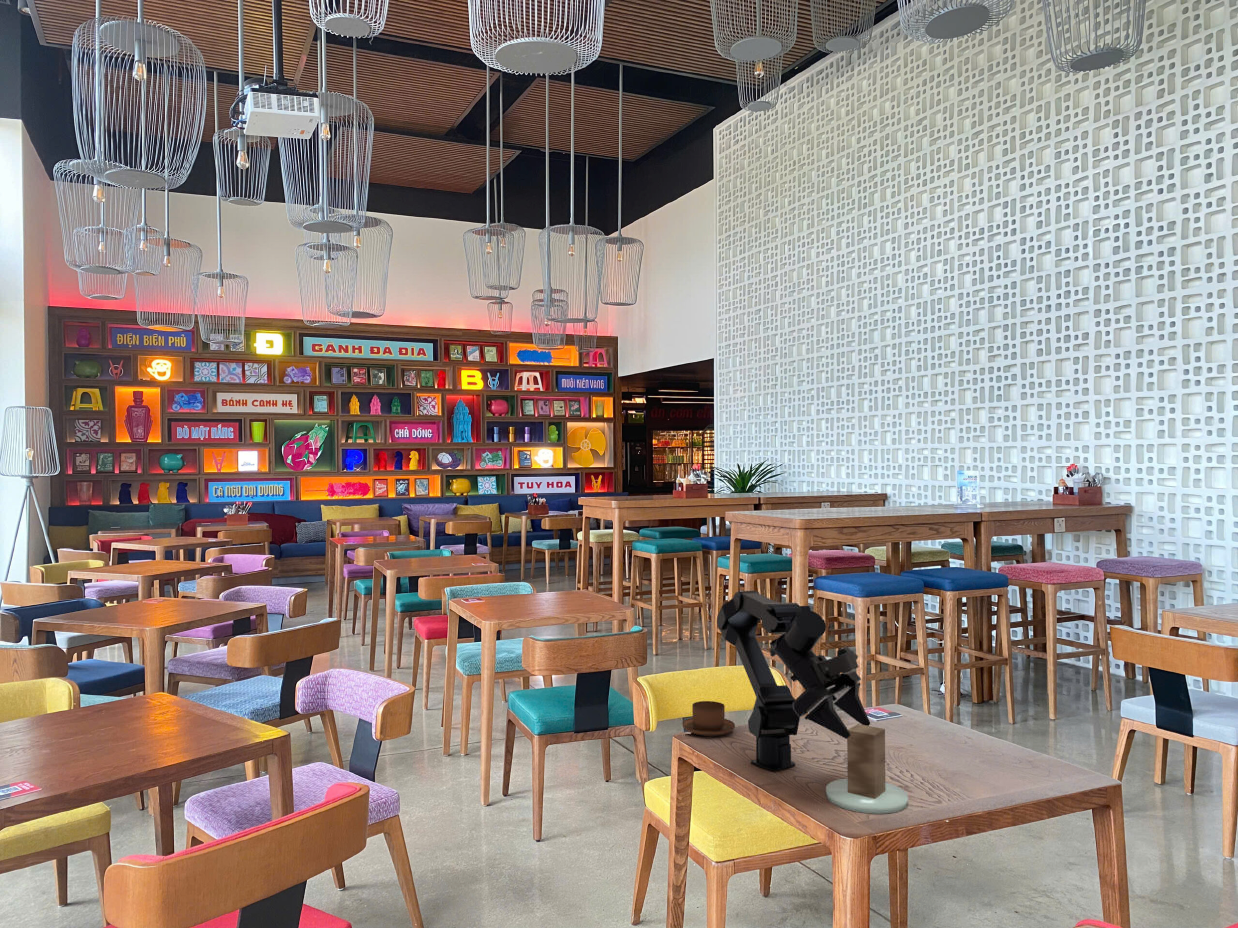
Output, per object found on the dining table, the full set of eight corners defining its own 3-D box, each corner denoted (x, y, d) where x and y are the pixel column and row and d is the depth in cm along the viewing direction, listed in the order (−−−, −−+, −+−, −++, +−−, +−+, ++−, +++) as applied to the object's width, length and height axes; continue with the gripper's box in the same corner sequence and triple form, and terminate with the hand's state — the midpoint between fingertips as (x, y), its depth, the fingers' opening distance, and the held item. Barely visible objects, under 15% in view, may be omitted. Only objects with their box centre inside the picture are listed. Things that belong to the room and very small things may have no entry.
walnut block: (847, 792, 147) (847, 730, 148) (858, 784, 151) (858, 723, 152) (875, 798, 144) (874, 735, 145) (885, 790, 148) (884, 728, 148)
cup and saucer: (672, 728, 192) (672, 701, 192) (717, 722, 197) (717, 696, 197) (699, 742, 181) (699, 714, 181) (745, 735, 186) (745, 708, 186)
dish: (809, 795, 149) (809, 788, 149) (858, 779, 157) (858, 772, 157) (875, 820, 138) (875, 812, 138) (924, 801, 146) (924, 794, 146)
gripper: (808, 641, 145) (869, 715, 138) (850, 628, 160) (907, 694, 153) (768, 680, 150) (825, 753, 143) (812, 663, 165) (867, 729, 158)
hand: (858, 731), depth 149 cm, fingers open, 9 cm apart
